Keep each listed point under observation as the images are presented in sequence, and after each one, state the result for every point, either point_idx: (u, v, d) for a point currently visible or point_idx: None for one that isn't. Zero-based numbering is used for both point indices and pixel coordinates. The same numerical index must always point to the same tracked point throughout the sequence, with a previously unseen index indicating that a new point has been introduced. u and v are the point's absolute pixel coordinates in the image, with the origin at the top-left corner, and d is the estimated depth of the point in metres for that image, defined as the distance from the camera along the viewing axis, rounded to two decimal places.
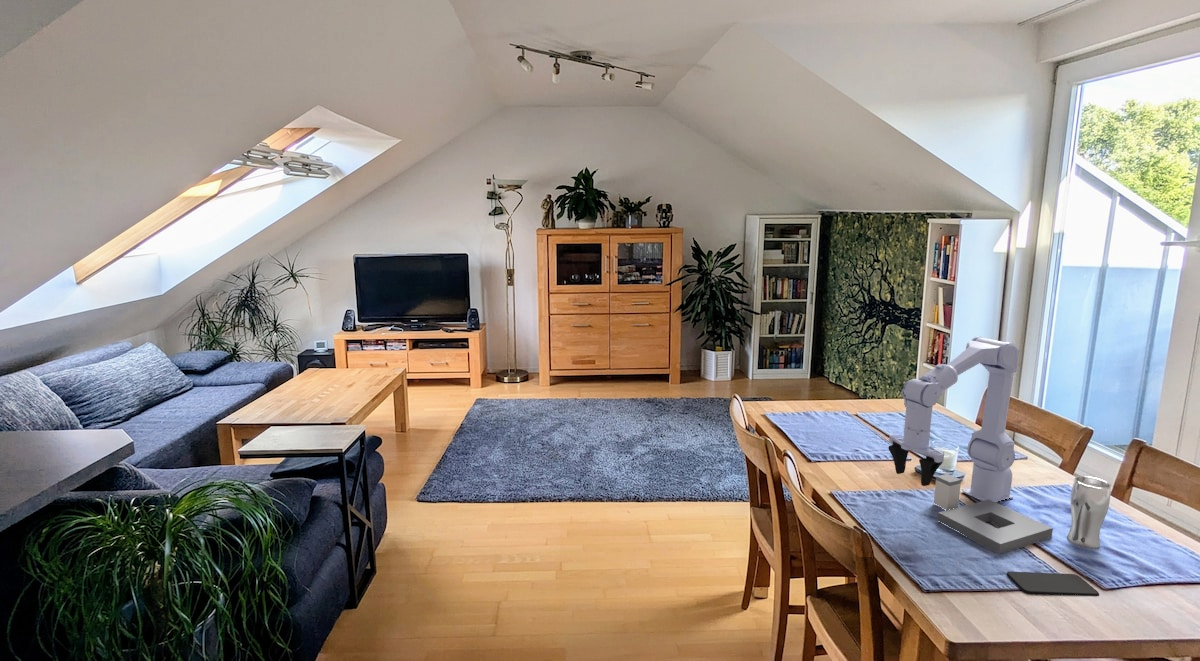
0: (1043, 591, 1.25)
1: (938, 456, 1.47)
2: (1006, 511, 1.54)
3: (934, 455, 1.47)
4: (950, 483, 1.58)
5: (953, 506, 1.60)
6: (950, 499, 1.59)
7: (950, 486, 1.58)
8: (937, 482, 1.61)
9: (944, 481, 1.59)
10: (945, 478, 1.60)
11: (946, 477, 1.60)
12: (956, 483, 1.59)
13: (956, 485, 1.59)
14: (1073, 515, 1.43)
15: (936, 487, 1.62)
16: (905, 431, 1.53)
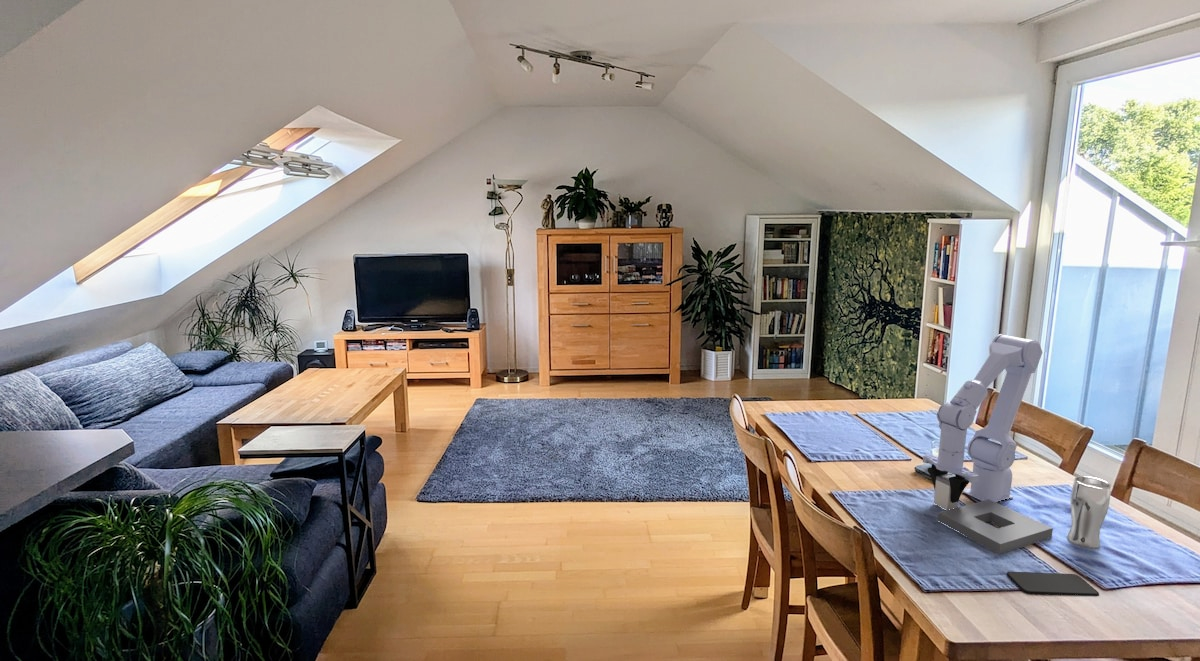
0: (1043, 591, 1.25)
1: (973, 477, 1.53)
2: (1006, 511, 1.54)
3: (969, 476, 1.54)
4: None
5: (953, 506, 1.60)
6: None
7: None
8: (937, 482, 1.61)
9: (944, 481, 1.59)
10: (945, 478, 1.60)
11: (946, 477, 1.60)
12: None
13: None
14: (1073, 515, 1.43)
15: (936, 487, 1.62)
16: (940, 452, 1.59)
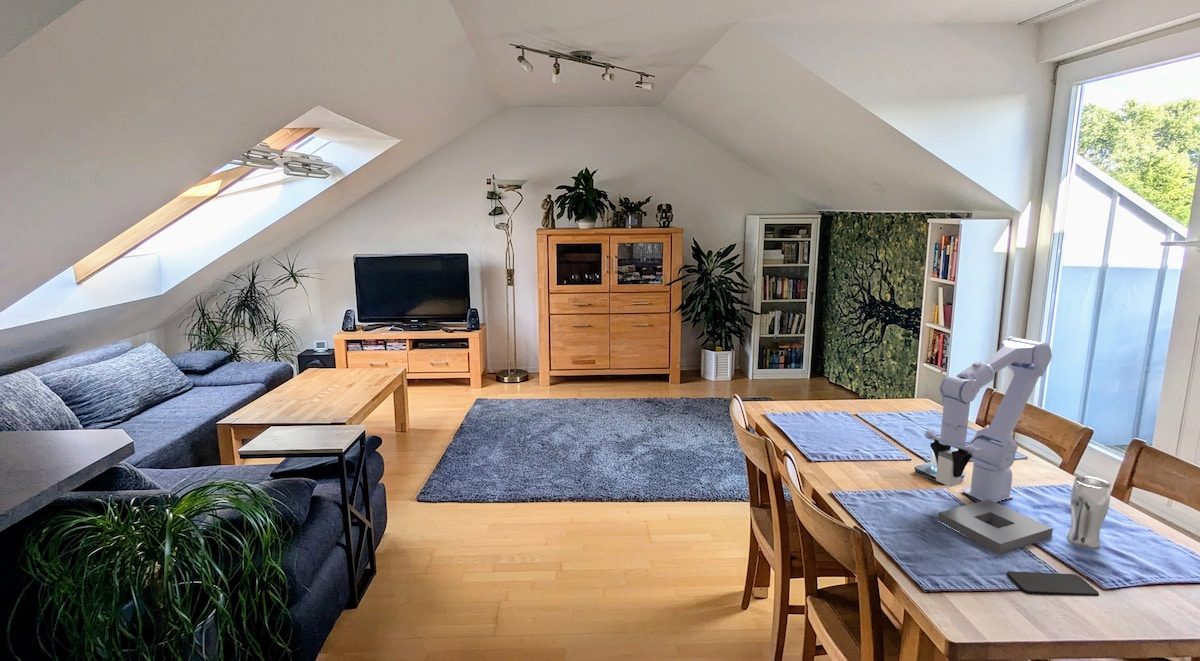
0: (1043, 591, 1.25)
1: (976, 450, 1.51)
2: (1006, 511, 1.54)
3: (972, 450, 1.52)
4: (952, 458, 1.56)
5: (956, 481, 1.59)
6: None
7: (952, 460, 1.57)
8: (939, 457, 1.60)
9: (947, 456, 1.58)
10: (948, 453, 1.59)
11: (949, 453, 1.59)
12: None
13: None
14: (1073, 515, 1.43)
15: (938, 463, 1.60)
16: (943, 426, 1.58)
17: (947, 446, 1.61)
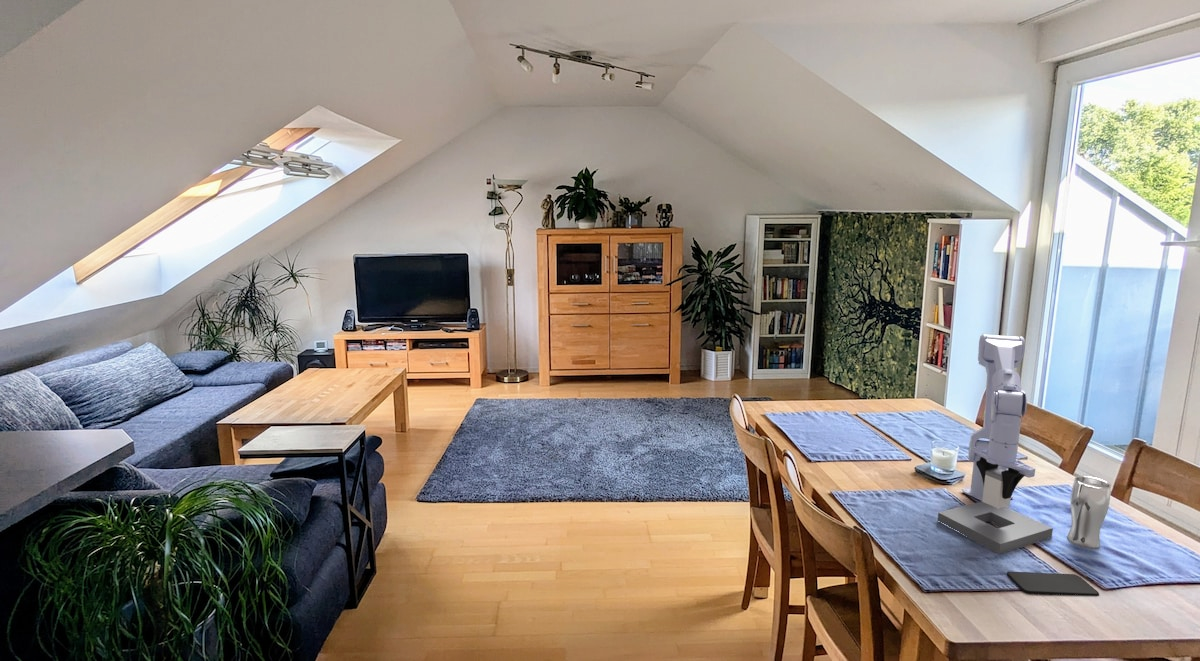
0: (1043, 591, 1.25)
1: (1029, 471, 1.40)
2: (1006, 511, 1.54)
3: (1025, 470, 1.40)
4: (1002, 478, 1.45)
5: (1004, 503, 1.47)
6: None
7: (1002, 481, 1.45)
8: (987, 477, 1.48)
9: (995, 476, 1.46)
10: (996, 473, 1.47)
11: (997, 472, 1.47)
12: None
13: None
14: (1073, 515, 1.43)
15: (985, 483, 1.48)
16: (991, 444, 1.46)
17: (994, 465, 1.49)
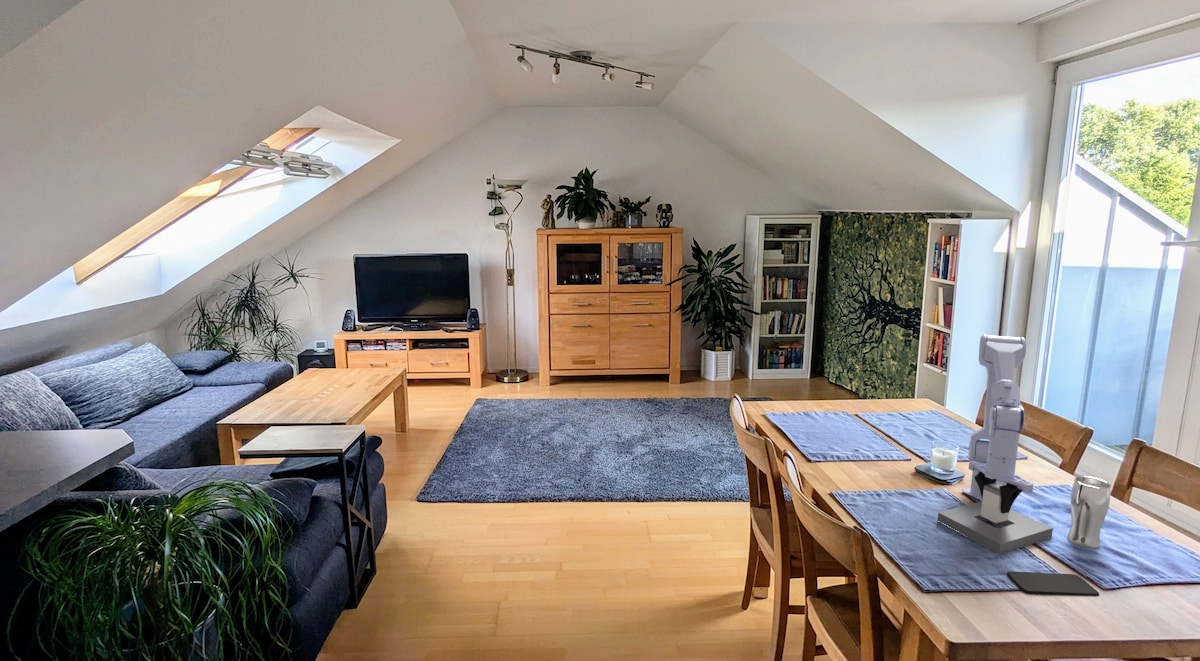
0: (1043, 591, 1.25)
1: (1027, 486, 1.40)
2: None
3: (1023, 485, 1.41)
4: (1000, 493, 1.45)
5: (1003, 518, 1.47)
6: (1000, 510, 1.47)
7: (1000, 495, 1.46)
8: (985, 491, 1.49)
9: (993, 490, 1.47)
10: (994, 487, 1.48)
11: (995, 486, 1.48)
12: None
13: None
14: (1073, 515, 1.43)
15: (983, 497, 1.49)
16: (989, 459, 1.47)
17: (993, 479, 1.50)
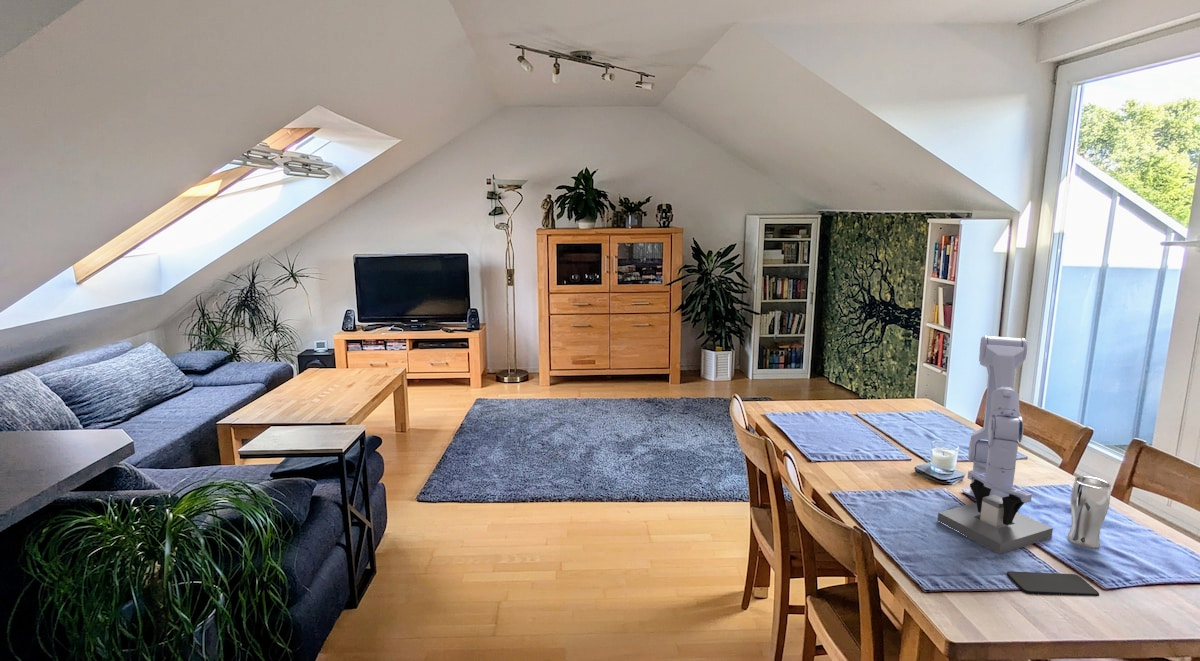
0: (1043, 591, 1.25)
1: (1026, 496, 1.41)
2: None
3: (1021, 495, 1.42)
4: (999, 505, 1.46)
5: None
6: (998, 523, 1.47)
7: (998, 508, 1.46)
8: (983, 504, 1.49)
9: (992, 503, 1.47)
10: (992, 499, 1.48)
11: (994, 499, 1.49)
12: None
13: None
14: (1073, 515, 1.43)
15: (982, 509, 1.50)
16: (988, 468, 1.47)
17: None
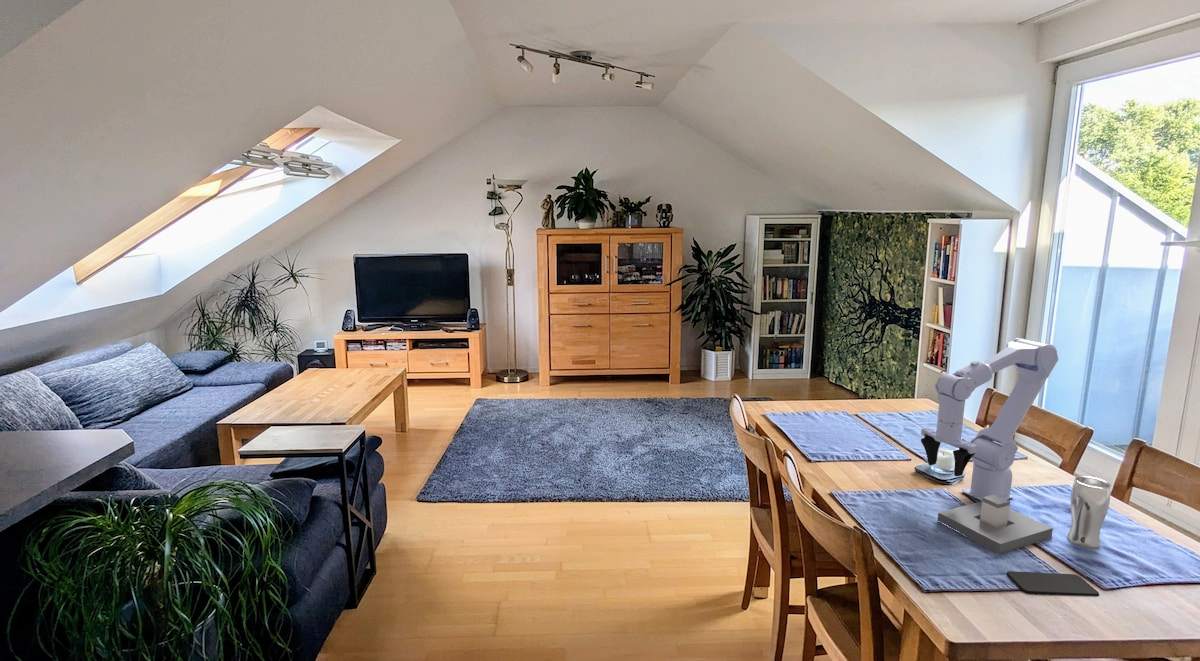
0: (1043, 591, 1.25)
1: (972, 447, 1.53)
2: None
3: (968, 446, 1.54)
4: (998, 505, 1.46)
5: None
6: (998, 523, 1.47)
7: (998, 508, 1.46)
8: (983, 504, 1.49)
9: (992, 503, 1.47)
10: (992, 499, 1.48)
11: (994, 499, 1.49)
12: (1005, 505, 1.47)
13: (1005, 507, 1.47)
14: (1073, 515, 1.43)
15: (982, 509, 1.50)
16: (938, 424, 1.59)
17: (937, 441, 1.64)
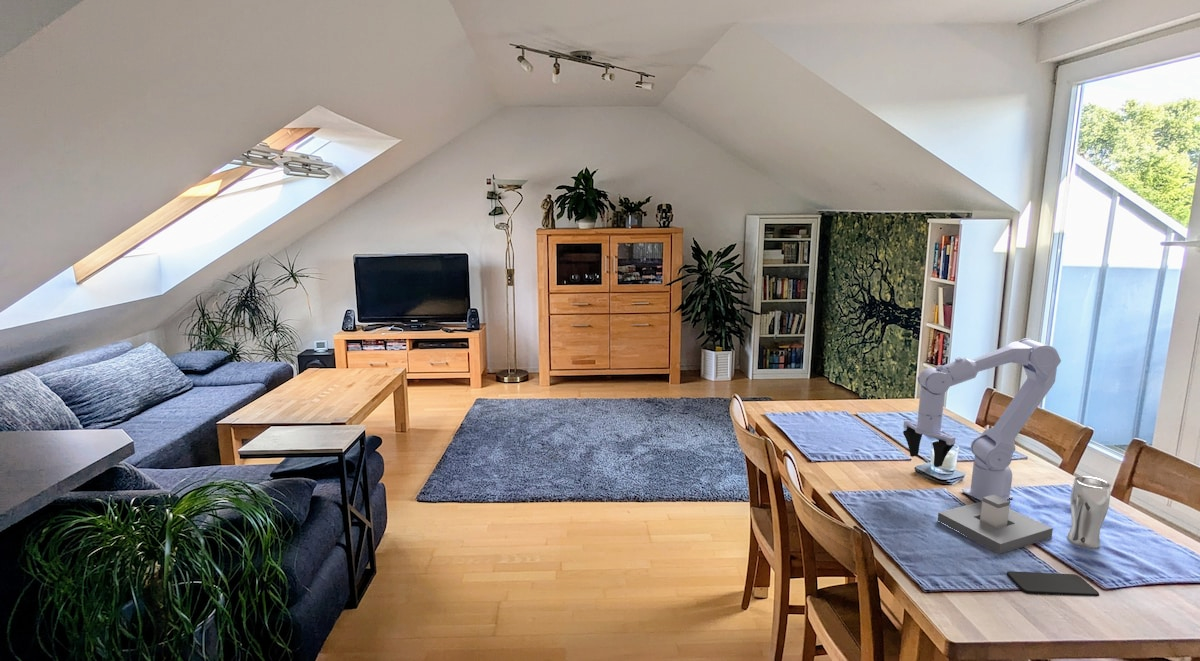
0: (1043, 591, 1.25)
1: (950, 439, 1.59)
2: None
3: (946, 438, 1.60)
4: (999, 505, 1.46)
5: None
6: (998, 523, 1.47)
7: (998, 508, 1.46)
8: (984, 504, 1.49)
9: (992, 503, 1.47)
10: (993, 499, 1.48)
11: (994, 499, 1.49)
12: (1005, 505, 1.47)
13: (1005, 507, 1.47)
14: (1073, 515, 1.43)
15: (982, 509, 1.50)
16: (919, 416, 1.65)
17: (919, 433, 1.70)
